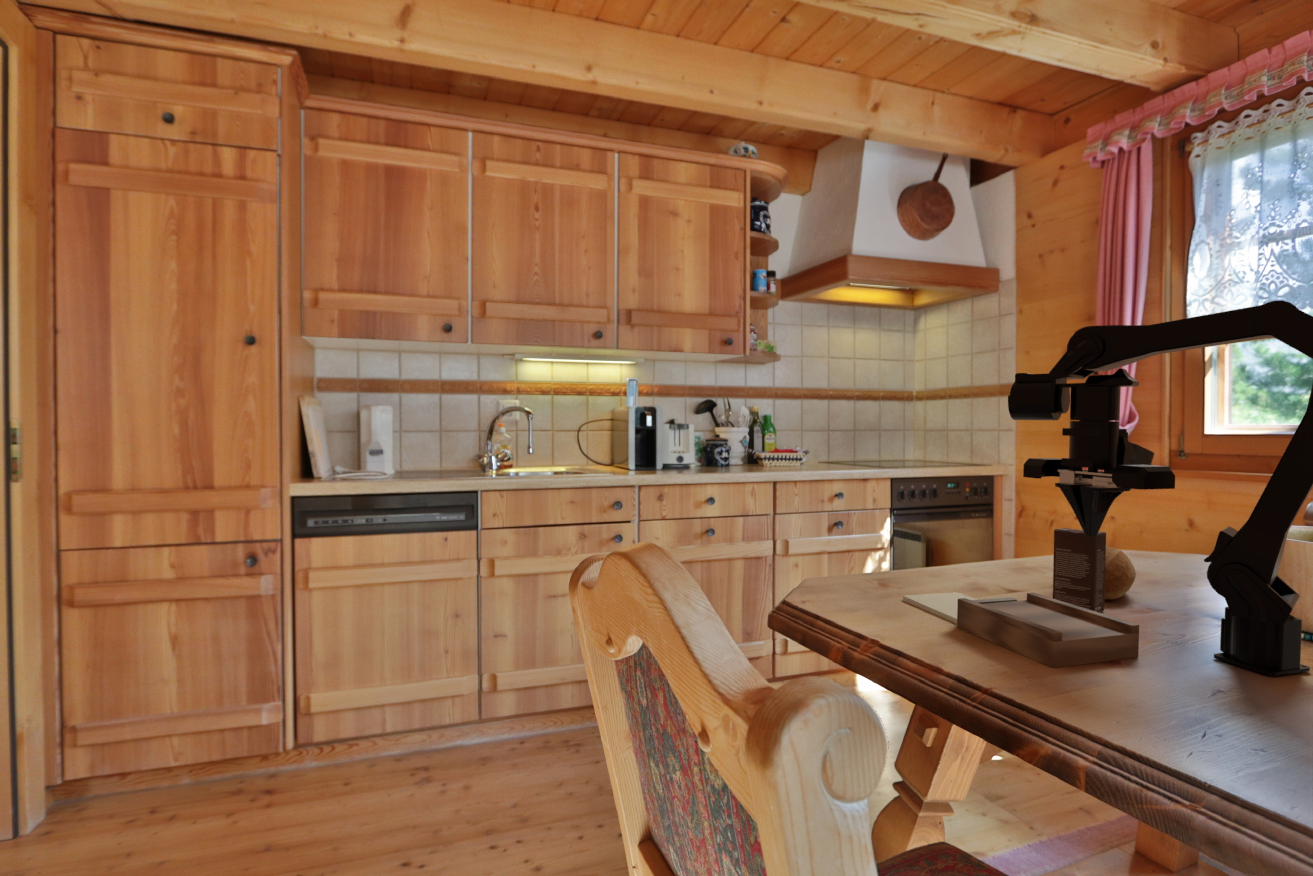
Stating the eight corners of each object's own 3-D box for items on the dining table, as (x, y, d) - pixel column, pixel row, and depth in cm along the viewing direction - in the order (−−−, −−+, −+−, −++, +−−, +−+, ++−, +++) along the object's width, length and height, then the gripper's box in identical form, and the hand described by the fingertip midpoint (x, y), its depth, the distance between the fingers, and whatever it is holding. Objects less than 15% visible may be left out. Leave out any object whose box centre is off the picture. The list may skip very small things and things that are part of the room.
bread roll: (1068, 600, 113) (1070, 550, 113) (1063, 581, 126) (1065, 536, 126) (1141, 608, 108) (1143, 556, 108) (1128, 587, 122) (1129, 541, 121)
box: (1105, 611, 106) (1107, 531, 106) (1094, 616, 103) (1096, 534, 103) (1062, 602, 111) (1064, 526, 111) (1050, 607, 108) (1052, 529, 108)
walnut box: (1138, 657, 86) (1139, 624, 86) (1053, 667, 82) (1054, 633, 82) (1032, 620, 101) (1033, 592, 101) (957, 627, 97) (957, 598, 97)
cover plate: (1022, 625, 101) (1023, 599, 101) (962, 629, 98) (962, 603, 98) (956, 599, 114) (957, 576, 114) (902, 603, 112) (903, 580, 112)
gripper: (1209, 422, 89) (1205, 545, 89) (1081, 420, 107) (1078, 523, 107) (1142, 421, 86) (1138, 550, 86) (1021, 420, 103) (1019, 526, 104)
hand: (1091, 536), depth 96 cm, fingers closed
